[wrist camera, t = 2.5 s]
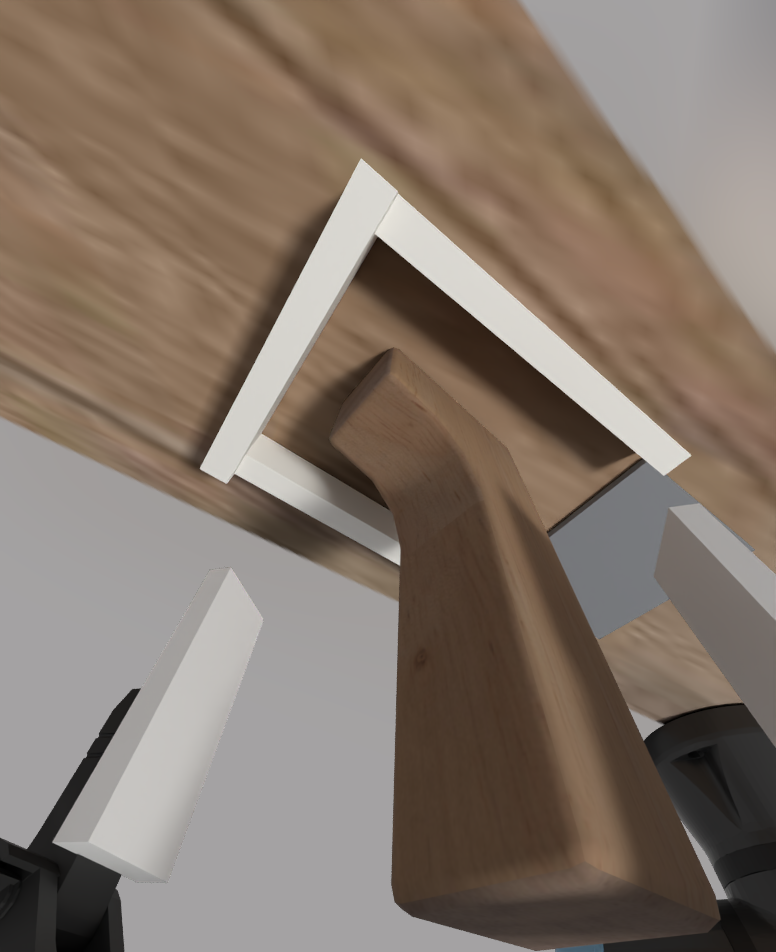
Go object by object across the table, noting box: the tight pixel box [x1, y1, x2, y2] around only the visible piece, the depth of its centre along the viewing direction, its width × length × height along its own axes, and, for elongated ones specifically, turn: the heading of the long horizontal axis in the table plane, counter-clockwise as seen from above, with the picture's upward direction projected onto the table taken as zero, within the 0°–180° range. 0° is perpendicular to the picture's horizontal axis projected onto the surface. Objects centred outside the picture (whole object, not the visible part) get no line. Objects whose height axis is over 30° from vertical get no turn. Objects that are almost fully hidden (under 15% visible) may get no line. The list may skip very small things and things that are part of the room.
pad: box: [547, 459, 755, 639], centre depth 26 cm, size 11×12×1 cm
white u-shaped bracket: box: [200, 159, 691, 565], centre depth 20 cm, size 20×15×4 cm
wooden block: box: [329, 348, 721, 951], centre depth 14 cm, size 9×4×18 cm, turn 49°
